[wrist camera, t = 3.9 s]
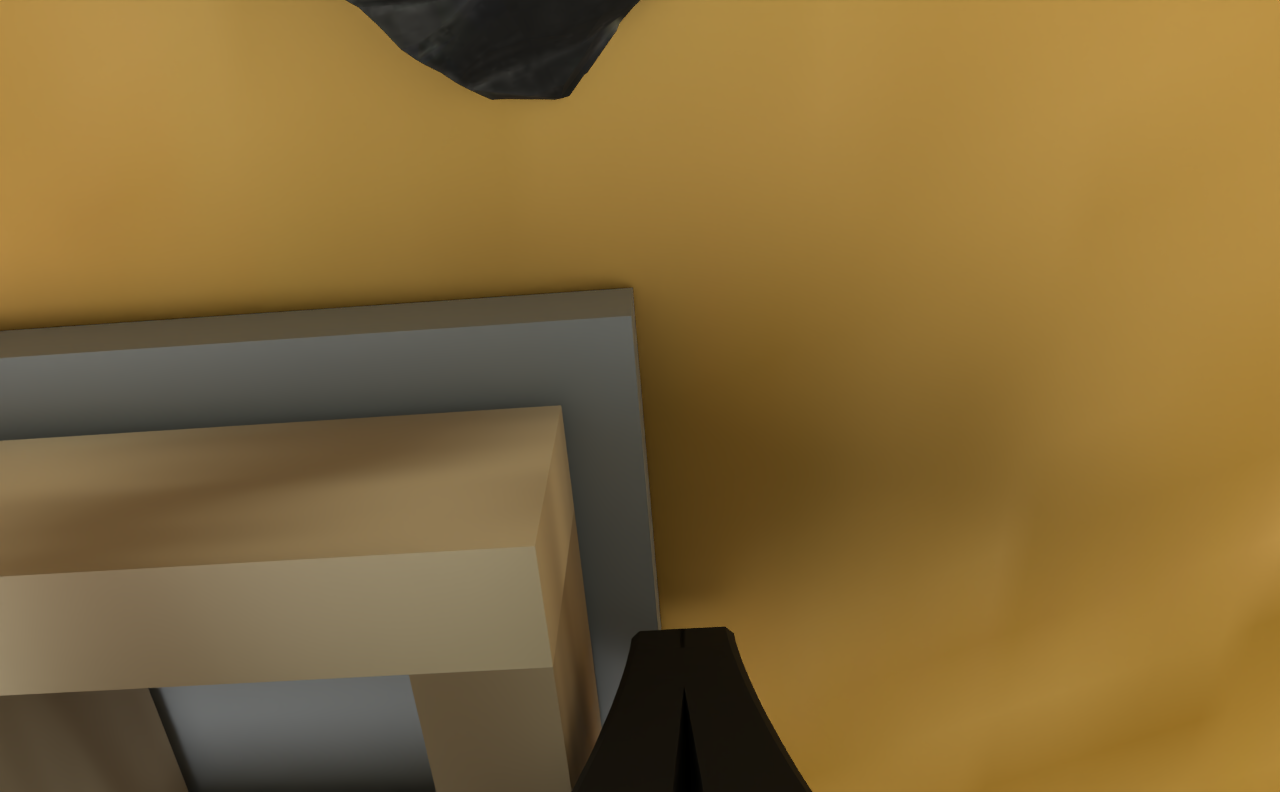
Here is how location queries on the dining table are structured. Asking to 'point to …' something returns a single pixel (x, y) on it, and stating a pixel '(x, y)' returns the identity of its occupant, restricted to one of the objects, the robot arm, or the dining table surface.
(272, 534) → the wooden square ring
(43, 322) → the dining table surface
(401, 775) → the board
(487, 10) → the stone slab
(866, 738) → the dining table surface
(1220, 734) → the dining table surface
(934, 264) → the dining table surface
